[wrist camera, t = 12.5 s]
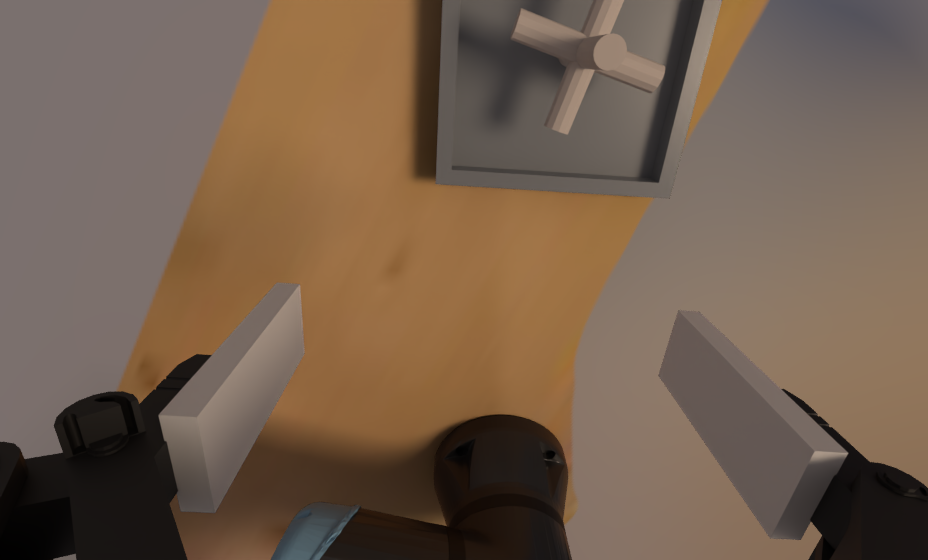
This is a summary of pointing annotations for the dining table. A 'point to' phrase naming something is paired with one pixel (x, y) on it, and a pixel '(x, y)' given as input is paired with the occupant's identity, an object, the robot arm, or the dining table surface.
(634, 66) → the pipe connector
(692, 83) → the tray
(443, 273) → the dining table surface
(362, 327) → the dining table surface
